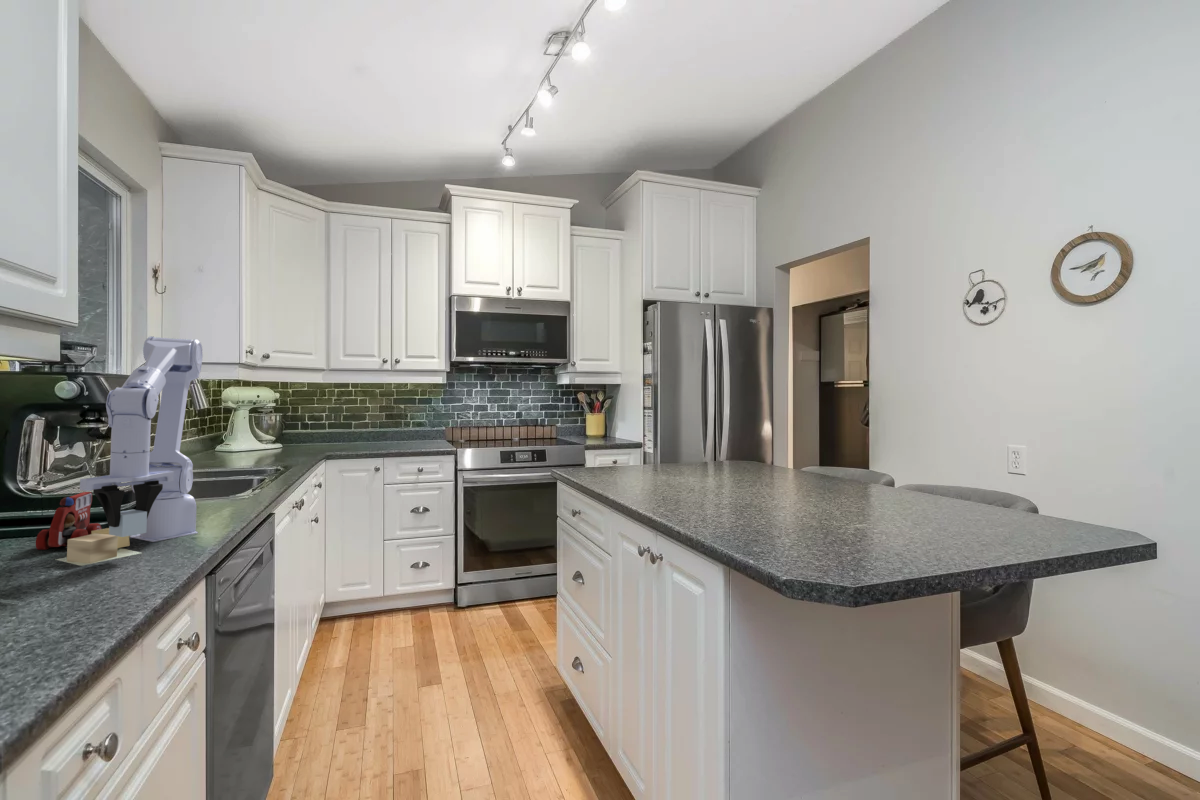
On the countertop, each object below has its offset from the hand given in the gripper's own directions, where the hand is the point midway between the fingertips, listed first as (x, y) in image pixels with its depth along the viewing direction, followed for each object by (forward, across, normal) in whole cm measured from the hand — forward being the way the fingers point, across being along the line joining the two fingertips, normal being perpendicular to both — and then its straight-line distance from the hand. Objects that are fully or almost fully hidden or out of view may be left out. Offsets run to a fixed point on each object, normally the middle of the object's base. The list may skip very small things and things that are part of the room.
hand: (127, 523), depth 109 cm
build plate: (+7, -1, +6) cm, 9 cm away
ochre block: (+7, +3, +10) cm, 12 cm away
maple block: (+7, -3, +5) cm, 9 cm away
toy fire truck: (+7, +1, +20) cm, 21 cm away
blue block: (+2, 0, 0) cm, 2 cm away
